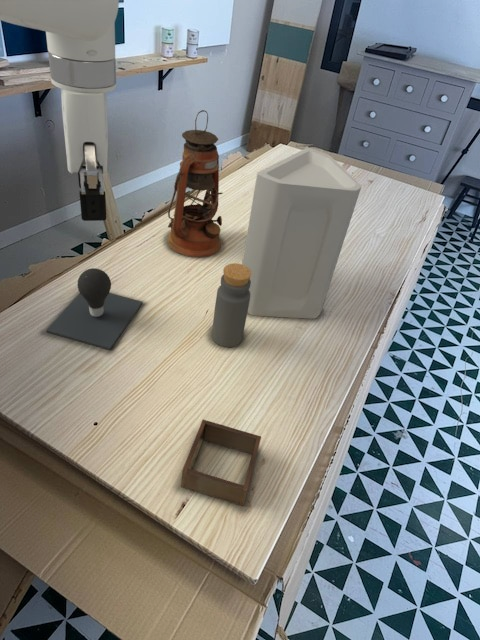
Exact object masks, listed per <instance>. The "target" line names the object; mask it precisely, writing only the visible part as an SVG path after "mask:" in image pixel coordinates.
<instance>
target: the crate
mask: <svg viewBox="0 0 480 640" xmlns="http://www.w3.org/2000/svg"><path fill="white" fill-rule="evenodd" d="M261 440H262V436H261V435H257V434H254V433H251V432H247V431H244V430H241V429H237V428H234V427H230V426H228V425H224V424H220V423H217V422H213V421H210V420H206V419H202V420H201V423H200V425H199V427H198V430H197V432H196V435H195V438H194V440H193V442H192V446H191V448H190V450H189V452H188V455H187V457H186V461H185V464H184V466H183V468H182V470H181V479H180V480H181V481H180V482H181V483H180V487H181V488H184V489H186V490H190V491H193V492H196V493H200V494H202V495H206V496H209V497H212V498H216V499H220V500H222V501H225V502H229V503H232V504H235V505H238V506H240V507H244V504H245V501H246V500H245V499H246V497H247V493H248V490H249V485H250V482H251V478H252V475H253V471H254V466H255V463H256V460H257V459H256V458H257V454H258V451H259V447H260V444H261ZM203 441H206V442H209V443H213V444H217V445H219V446H223V447H226V448H229V449H232V450H236V451H240V452H242V453H243V452H244V453H246V454H249V455H251V457H250V461H249V465H248V469H247V472H246V476H245V480H244V484H240V483H236V482H233V481H230V480H227V479H224V478H220V477H217V476H214V475H210V474H208V473H205V472H200V471H198V470H194V469H193V467H194V465H195V463H196V460H197V457H198V455H199V452H200V449H201V446H202V444H203Z"/></svg>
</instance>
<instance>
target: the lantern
mask: <svg viewBox="0 0 480 640" xmlns="http://www.w3.org/2000/svg"><path fill="white" fill-rule="evenodd" d="M203 112H205V113H206V126H205V129H204V130H201V129H197V118H198V116H199V115H200V114H201V113H203ZM208 122H209V114H208V112H207V110H204V109H202V110H200V111H198V112H197V114H196V117H195V120H194V125H195V126H194V129H189V130H185V131H184V132H182V133H181V137H182V138H183V139H184V140H185V142H184V144H183V152H182V159H181V161H180V163H179V169H178V172H177V174H176V178H175V181H174V185H173V190H174V191H173V194H172V197H171V201H170V203H169V207H168V210H167V217H168V219H170V222H169V223H168V225H167V228H170V232H169V234H168V236H167V240H166V244H167V245H168V247H169V248H170V249H171V250H173V251H174V252H176V253H178V254H180V255H182V256H186V257H191V258H206V257H210V256H213V255H216V254H217V253H218V252H220V250H221V249H222V246H223V244H222V243H223V242H222V240H221V237H220V233H221V226H222V225H223V218H222V216H221V215H218V217H216V219H213V218H214V217H215V216H216V214H217V212H218V210H219V209H218V208H219V195H223V192H219V191H220V189H219V186H220V185H219V184H220V183H219V182H220V181H219V178H220V171H219V170H220V161H219V159H220V154H219V152H218V147H217V146H216V145H215V144H216V143H217V142H218V141H219V138H218V137H217V135H216V134H214V133H213V132H210V131H207V129H208V124H209V123H208ZM187 189H190V190H194V191H197V193H196V195H195V196H194V195H193V194H190V193H187V192H186V191H187ZM201 191H205V193H204V197H203V199H202V198H199V197H198V196H199V194H200V192H201ZM186 198H187V199H188V200H191V203H190V204H187V205H185V199H186ZM174 200H175V206H174V213H173V217H171V209H172V206H173V203H174ZM196 201H197V202H196ZM198 202H200V203H198ZM194 203H196V204H194ZM201 203H202V204H201Z"/></svg>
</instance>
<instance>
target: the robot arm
mask: <svg viewBox="0 0 480 640" xmlns="http://www.w3.org/2000/svg"><path fill="white" fill-rule="evenodd" d="M119 3H120V0H0V21H1V22H5V23H9V24H11V25H16V26H20V27H24V28H29V29H32V30H38V31H43V32H45V37H46V46H47V47H46V48H47V54H48V55H47V56H48V61H49V62H48V63H49V73H50V83H51V85H53V86H54V87H56V88H59V89H60V94H61V95H60V99H61V113H62V115H61V116H62V125H63V135H64V143H65V145H64V146H65V154H66V164H67V171H68V173H70V174H71V175H74V173H77V177H78V178H77V179H78V187H79V189H80V190H79V202H80V203H79V205H80V216H81V220H82V221H84V222H91V221H92V222H96V221H97V222H98V221H99V222H101V221H106V220H107V202H106V201H107V200H106V199H107V198H106V191H105V190H104V180H103V179H104V178H103V175H104V174H106V173H107V172H108V154H109V152H108V151H109V150H108V149H109V146H108V145H109V135H108V134H109V132H108V131H109V129H108V128H109V126H108V99H107V98H108V96H107V93H109V92H110V93H111V92H112V91H115V90H116V89H117V66H116V63H117V61H116V27H115V26H116V25H115V23H116V20H117V16H118V12H119V6H120V4H119Z"/></svg>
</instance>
